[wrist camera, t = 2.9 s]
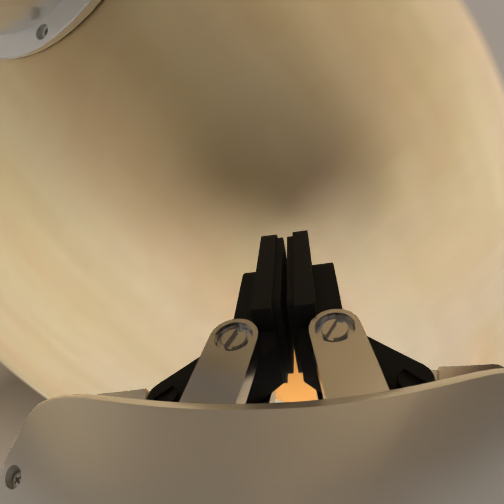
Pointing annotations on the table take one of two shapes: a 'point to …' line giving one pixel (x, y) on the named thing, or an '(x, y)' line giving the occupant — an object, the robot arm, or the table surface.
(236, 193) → the table surface
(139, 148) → the table surface
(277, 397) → the ball
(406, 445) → the robot arm
